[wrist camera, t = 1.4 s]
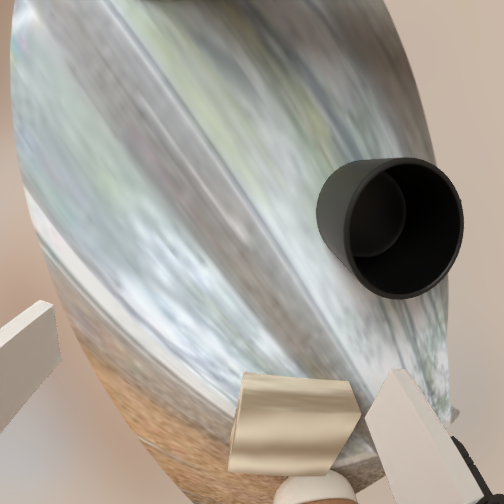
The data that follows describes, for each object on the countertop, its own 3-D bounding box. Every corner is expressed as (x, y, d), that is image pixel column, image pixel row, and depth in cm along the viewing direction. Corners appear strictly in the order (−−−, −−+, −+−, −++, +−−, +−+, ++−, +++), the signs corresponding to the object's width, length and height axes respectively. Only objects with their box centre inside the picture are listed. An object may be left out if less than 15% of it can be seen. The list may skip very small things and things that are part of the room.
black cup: (435, 238, 26) (490, 265, 18) (328, 274, 27) (358, 318, 19) (418, 146, 24) (476, 141, 15) (302, 174, 25) (326, 176, 16)
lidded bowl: (253, 481, 37) (252, 538, 26) (312, 446, 34) (323, 511, 23) (308, 498, 39) (314, 547, 28) (364, 467, 36) (380, 519, 25)
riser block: (244, 370, 31) (241, 407, 25) (347, 379, 31) (361, 414, 25) (230, 436, 34) (227, 471, 28) (318, 442, 34) (324, 475, 28)
